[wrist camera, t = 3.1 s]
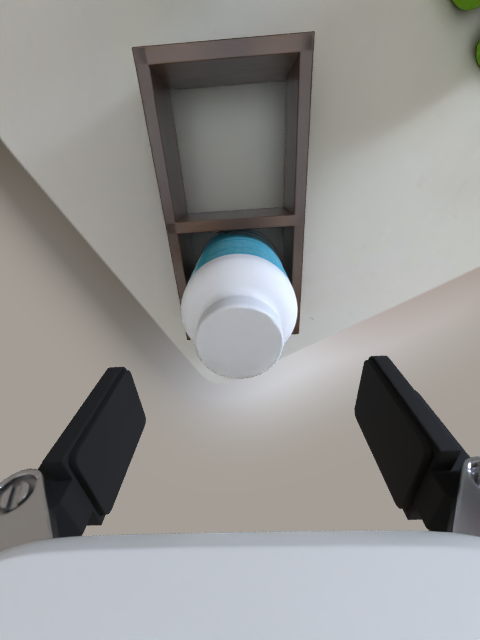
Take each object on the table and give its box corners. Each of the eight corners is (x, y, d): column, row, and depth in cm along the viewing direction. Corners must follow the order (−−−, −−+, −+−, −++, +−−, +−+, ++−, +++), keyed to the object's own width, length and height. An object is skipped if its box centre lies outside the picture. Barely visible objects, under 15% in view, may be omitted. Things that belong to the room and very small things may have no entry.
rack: (195, 314, 28) (187, 340, 24) (156, 76, 19) (131, 46, 14) (289, 309, 28) (299, 334, 23) (297, 65, 19) (315, 30, 14)
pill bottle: (190, 235, 24) (144, 293, 12) (271, 217, 23) (303, 260, 12) (212, 307, 28) (191, 406, 16) (282, 293, 27) (316, 386, 15)
